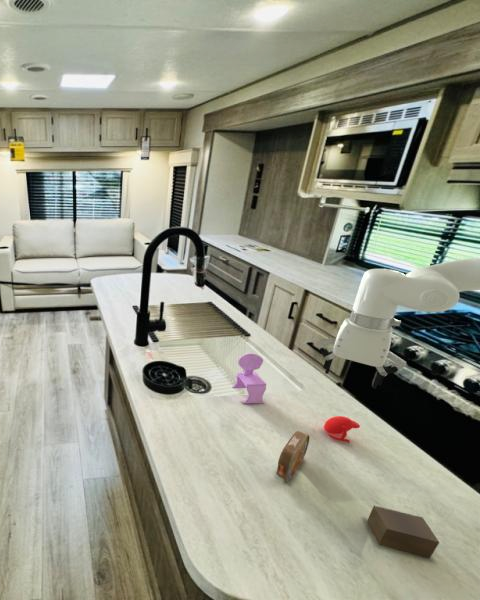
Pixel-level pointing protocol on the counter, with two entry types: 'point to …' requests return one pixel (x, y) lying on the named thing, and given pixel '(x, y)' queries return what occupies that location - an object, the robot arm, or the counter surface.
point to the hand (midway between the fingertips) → (349, 378)
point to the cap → (339, 427)
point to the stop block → (402, 532)
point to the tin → (292, 455)
